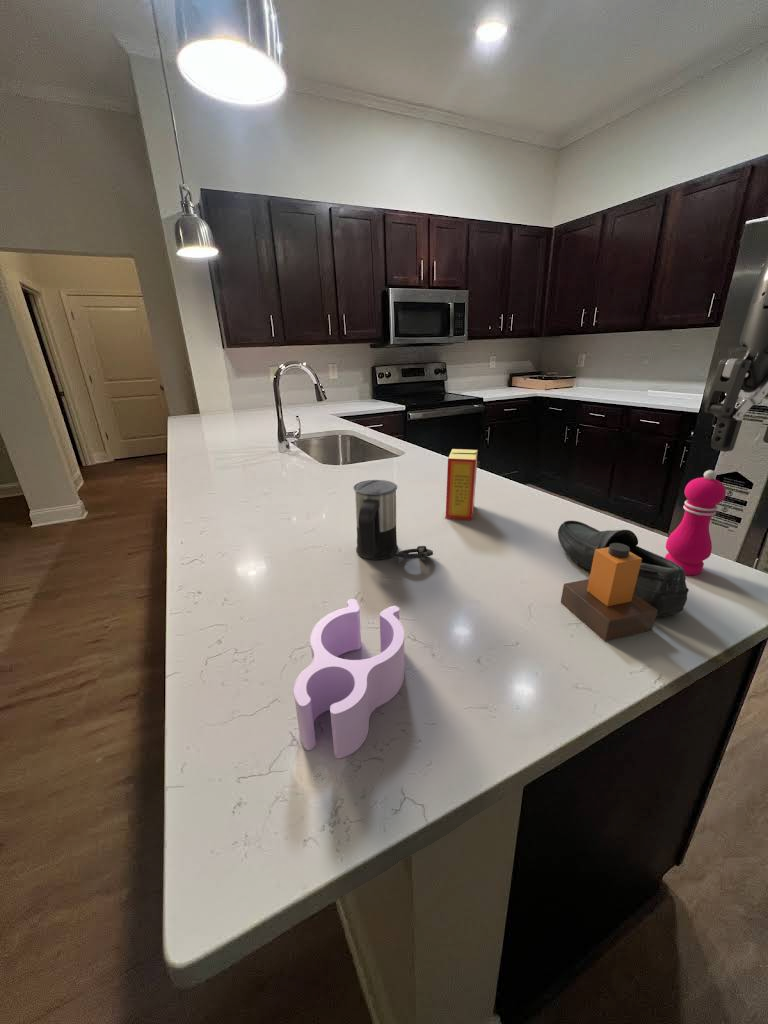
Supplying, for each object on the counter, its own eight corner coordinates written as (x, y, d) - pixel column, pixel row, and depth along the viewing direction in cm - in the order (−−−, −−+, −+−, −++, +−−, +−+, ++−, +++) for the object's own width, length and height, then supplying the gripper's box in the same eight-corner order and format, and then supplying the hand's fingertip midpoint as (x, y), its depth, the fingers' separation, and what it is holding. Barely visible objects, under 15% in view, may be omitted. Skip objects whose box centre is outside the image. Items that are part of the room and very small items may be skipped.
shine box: (652, 630, 66) (658, 610, 64) (604, 641, 63) (609, 621, 62) (603, 593, 75) (607, 575, 73) (560, 602, 73) (563, 583, 71)
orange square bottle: (644, 551, 63) (620, 538, 67) (619, 556, 62) (596, 542, 66) (631, 601, 66) (609, 586, 70) (607, 606, 65) (586, 590, 69)
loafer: (579, 538, 94) (587, 496, 90) (704, 613, 69) (723, 559, 65) (540, 546, 92) (547, 503, 88) (656, 627, 66) (672, 571, 62)
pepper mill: (712, 571, 81) (745, 472, 73) (690, 580, 78) (722, 479, 70) (674, 555, 87) (701, 462, 79) (652, 563, 84) (678, 468, 76)
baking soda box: (471, 520, 105) (475, 458, 99) (445, 517, 107) (448, 457, 100) (473, 506, 113) (477, 448, 107) (449, 504, 115) (452, 447, 109)
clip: (374, 768, 46) (372, 723, 43) (273, 740, 49) (265, 696, 46) (414, 646, 63) (415, 608, 60) (338, 632, 67) (335, 595, 64)
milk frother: (355, 541, 96) (352, 479, 90) (423, 537, 97) (424, 476, 91) (358, 574, 83) (354, 505, 77) (436, 568, 84) (439, 500, 78)
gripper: (803, 301, 50) (758, 435, 56) (711, 301, 46) (674, 445, 53) (887, 295, 43) (825, 449, 50) (786, 296, 40) (734, 460, 46)
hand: (747, 446), depth 51 cm, fingers open, 8 cm apart
